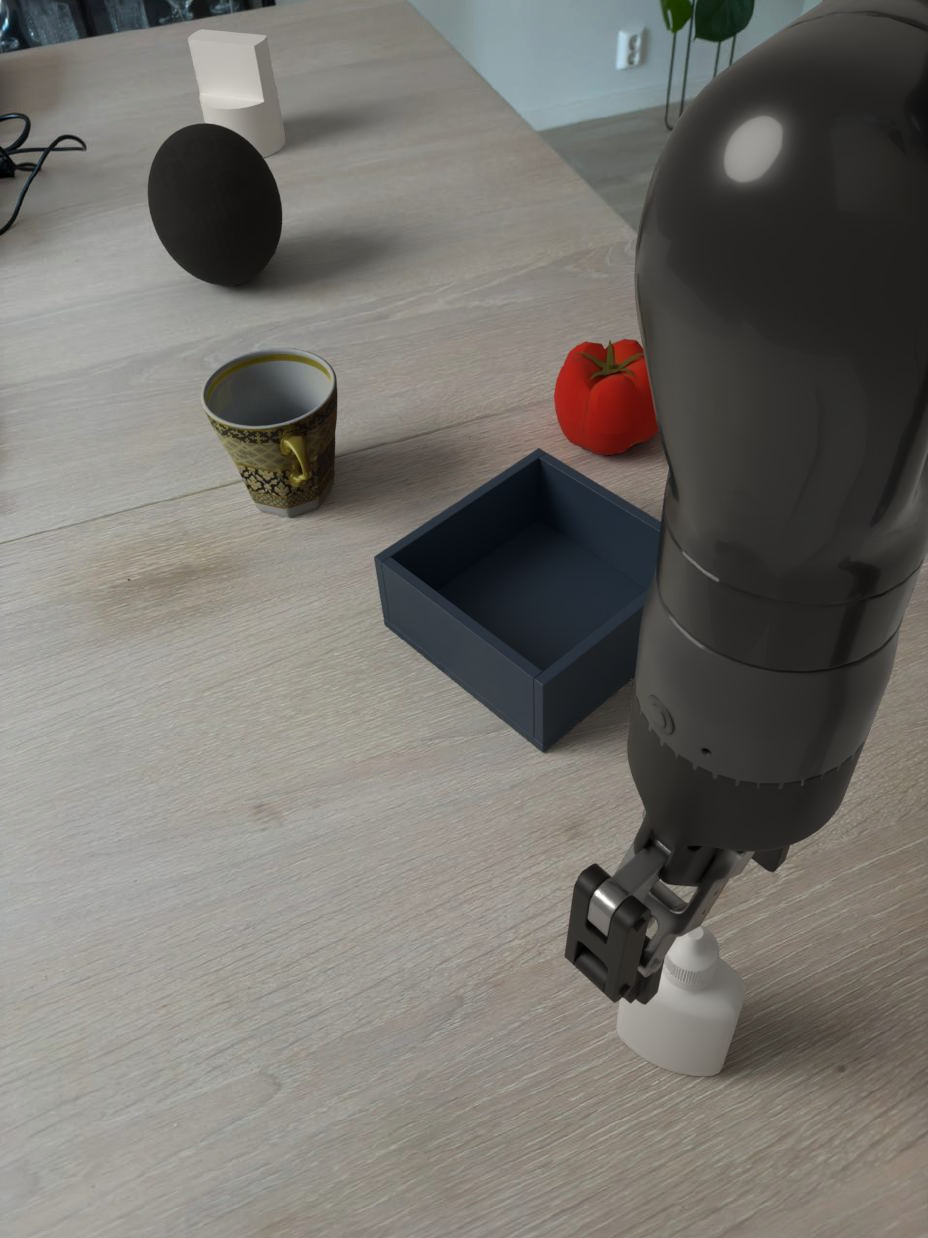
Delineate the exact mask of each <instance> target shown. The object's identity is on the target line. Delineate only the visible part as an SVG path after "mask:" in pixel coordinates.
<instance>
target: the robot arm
mask: <svg viewBox="0 0 928 1238" xmlns="http://www.w3.org/2000/svg"><path fill="white" fill-rule="evenodd" d="M643 203H644V204H643V207H642V211H641V215H640V219H639V220H640V221H639V224H638V230H637V237H636V243H635V252H634V253H635V255H634V276H633V278H634V279H633V280H634V301H635V310H636V317H637V326H638V330H639V334H640V339H641V340H640V341H641V346H642V348H643V351H644V357H645V362H646V367H647V372H648V378H649V383H650V388H651V393H652V399H653V405H654V411H655V416H656V422H657V426H658V430H659V431H658V434H659V438H660V441H661V445H662V448H663V453H664V455H665V460H666V462H667V466H668V471H667V476H666V482H665V488H664V491H663V501H662V510H661V517H660V522H661V525H660V534H659V542H658V550H657V559H656V567H655V572H654V576H653V580H652V582H651V585H650V588H649V591H648V595H647V598H646V601H645V605H644V608H643V613H642V619H641V626H640V634H639V643H638V652H637V661H636V670H635V677H634V678H633V688H632V696H631V697H632V698H631V707H630V714H629V715H630V716H629V724H628V733H627V742H626V743H627V744H626V747H627V748H626V754H627V761H628V766H629V770H630V774H631V777H632V780H633V782H634V785H635V787H636V790H637V791H638V795H639V797H640V801H641V802H642V805H643V807H644V809H643V811H642V823H641V825H640V827H639V828H638V830H637V832H636V834H635V837H634V839H633V841H632V843H631V844H630V846H629V848H628V849H627V852H626V853H625V855H624V856H623V858H622V860H621V862H620V864H619V865H618V867H617V868H616V870H615V872H614V874H613V875H610V874H609V873H608V872H607V871H606V870H605V869H604V868H603V867H601V866H600V865H599V864H598V863H592V864H590V865H589V866H588V867H586V868H584V869H583V870H582V871H581V872H580V873H579V875H578V876H577V879H576V881H575V883H574V885H573V889H572V897H571V905H570V912H569V918H568V927H567V934H566V942H565V948H564V949H565V950H564V958H565V959H566V960H567V961H569V962H570V964H571V965H573V966H574V968H576V969H577V970H578V971H579V972H580V973H581V974H582V975H583V976H584V977H586V979H588V980H589V981H590V982H591V983H592V984H593V986H595V987H596V988H597V989H598V990H599V991H600V992H601V993H603V994H604V995H605V996H606V997H607V998H608V999H609V1000H610V1001H611V1002H612V1003H614V1004H615V1003H618V1002H619V1000H620V999H621V998H625V999H626V1000H627V1001H628V1002H629V1003H630V1004H631V1003H632V1002H633V1001H634V1000H635V999H636V1000H637V1001H638V1002H640V1003H641V1004H644V1005H646V1004H647V1003H648V1002H649V1001H650V1000H651V999H652V998H653V997H654V996H655V995H656V994H657V993H658V988H659V984H660V979H661V974H662V969H663V964H664V959H665V956H666V954H667V952H668V951H669V949H670V948H671V946H672V944H673V943H674V941H675V940H676V938H677V937H681V936H683V935H685V934H687V933H689V932H690V931H692V930H694V929H696V928H698V927H699V926H700V925H702V924H703V922H704V921H705V919H706V917H707V916H708V914H710V911H711V910H712V908H713V906H714V905H715V903H716V902H717V900H718V898H719V897H720V896H721V894H722V892H723V890H724V889H725V887H726V886H727V884H728V882H729V881H730V879H733V878H734V877H737V876H739V875H740V874H742V873H743V872H744V870H745V869H746V868H747V866H748V864H749V862H750V861H751V860H753V861H754V862H755V863H756V864H757V865H758V866H760V867H761V868H763V869H764V870H766V871H767V872H769V873H775V872H777V870H778V869H779V868H780V867H781V866H782V865H783V864H784V863H785V862H786V859H787V856H788V853H789V850H790V847H791V846H793V845H795V844H798V843H800V842H801V841H804V840H806V839H809V837H811V836H812V835H814V834H815V833H817V832H818V831H820V830H821V829H823V828H824V826H825V825H827V824H828V822H830V820H831V819H833V817H834V815H835V814H836V813H837V812H838V810H839V808H840V806H841V805H842V802H843V801H844V798H845V796H846V793H847V792H848V788H849V785H850V783H851V780H852V778H853V775H854V772H855V770H856V767H857V765H858V762H859V759H860V757H861V754H862V752H863V748H864V747H865V744H866V741H867V738H868V736H869V734H870V731H871V730H872V729H871V728H872V727H873V724H874V720H875V718H876V716H877V713H878V710H879V708H880V705H881V704H882V703H881V702H882V700H883V697H884V694H885V692H886V690H887V687H888V684H889V682H890V679H891V675H892V673H893V669H894V665H895V660H896V655H897V650H898V643H899V637H900V629H901V626H902V622H903V619H904V615H905V613H906V611H907V608H908V605H909V603H910V601H911V597H912V595H913V592H914V589H915V587H916V584H917V582H918V579H919V578H920V577H919V576H920V574H921V571H922V568H923V566H924V564H925V560H926V558H927V555H928V0H822V1H820V2H819V3H817V5H815V6H814V7H812V8H810V9H809V10H808V11H806V12H805V13H803V14H801V16H799V17H797V18H796V19H794V20H793V21H792V22H790V23H789V24H787V25H786V26H784V27H783V28H781V29H780V30H779V31H777V32H775V33H774V34H773V35H771V36H770V37H768V38H767V39H765V40H763V42H761V43H759V44H758V45H756V46H755V47H754V48H752V49H750V50H749V51H748V52H746V53H745V54H743V55H742V56H741V57H739V58H738V59H736V60H735V61H733V63H731V64H730V65H728V66H727V67H726V68H724V70H722V71H721V72H719V73H718V74H717V75H716V76H715V77H713V78H712V79H711V80H710V81H708V83H707V84H706V85H704V86H703V88H702V89H701V90H700V91H699V92H698V94H697V95H696V96H695V97H694V98H693V99H692V101H691V102H690V103H689V104H688V106H687V107H686V108H685V109H684V111H683V112H682V113H681V115H680V117H678V120H677V121H676V123H675V125H674V126H673V128H672V129H671V131H670V133H669V135H668V137H667V139H666V141H665V143H664V145H663V147H662V149H661V151H660V154H659V157H658V159H657V162H656V164H655V167H654V169H653V172H652V175H651V178H650V181H649V184H648V188H647V191H646V194H645V199H644V202H643ZM665 884H666V885H665ZM667 885H669V886H679V887H692V888H696V890H695V891H694V892H693V895H692V896H691V898H690V899H689V900H688V902H687V901H685V900H684V899H682V898H681V897H680V896H679V895H678V894H676V893H675V892H674V891H673V890H671V889H670V888H669V887H668V886H667ZM655 922H656V923H657V929H656V931H655V932H654V934H653V936H652V937H651V938H650V937H649V936H648V935H647V931H648V929H650V928H651V927H652V926H653V925H654V923H655Z"/></svg>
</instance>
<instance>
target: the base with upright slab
mask: <svg viewBox="0 0 928 1238" xmlns="http://www.w3.org/2000/svg"><path fill="white" fill-rule="evenodd" d="M187 42H188V48H189V51H190V55H191V60H192V64H193V68H194V74H195V78H196V83H197V87H198V90H199V97H198V98H199V102H200V108H201V112H202V116H203V120H204V123H209V124H216V125H220V126H223V127H226V128H228V129H230V130H233V131H234V132H236V133H238V134H239V135H241V136H242V137H244V138H245V139H246V140H248V141H249V142H250V143H251V144H252V145H253V146H254V147H255V148H256V149H257V150H258V152H259V153H260V154H261V155H262V157H263V158H264V159H265V158H267V157H269V156H272V155H274V154H276V153H278V152H279V151H280V150H281V149H283V148H284V146H285V145H286V142H287V141H286V140H287V137H286V132H285V126H284V121H283V115H282V109H281V104H280V97H279V92H278V87H277V85H276V81H275V75H274V70H273V69H274V68H273V63H272V57H271V51H270V47H269V46H270V45H269V41H268V35H266V34H258V33H257V34H256V33H247V32H246V33H245V32H235V31H233V32H232V31H225V30H214V29H213V30H212V29H203V28H202V29H198V30H196V31H194V32H193V33H192V34H191V35H190V36H189V37H188V38H187Z"/></svg>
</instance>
